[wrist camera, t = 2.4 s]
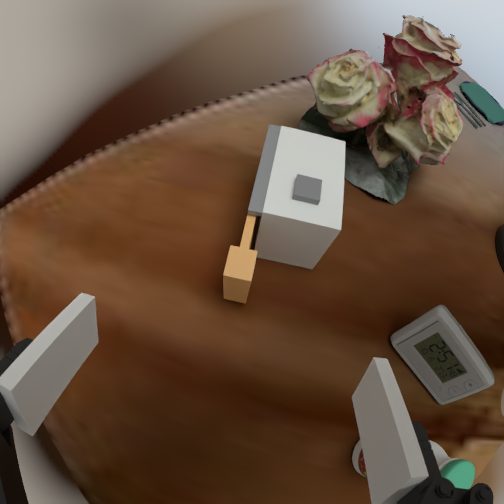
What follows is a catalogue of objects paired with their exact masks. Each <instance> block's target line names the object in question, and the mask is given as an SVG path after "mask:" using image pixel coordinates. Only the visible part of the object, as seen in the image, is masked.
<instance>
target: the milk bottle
mask: <svg viewBox="0 0 504 504" xmlns="http://www.w3.org/2000/svg"><path fill="white" fill-rule="evenodd" d="M429 442H430V444H431V446H432V448H431V449H433V452H434V455H435V458H436V461H437V464H438V467H439V470H440V473H441V476H442V478H446V479H449V480H450V481H451V482H452V483H453V484H454V486H455V487H456V488H463V489H470V487H471V485H472V483H473V480H474V476H475V468H474V465H473V464H472V463H471V462H469V461H467V460H462V459H457V458H452V459H450V458H449V457H448V456H447V454H446V452H445V451H444V450H443V448H441V447H440V446H439V445H438V444H436V443H435V442H433V441H431V440H429ZM352 462H353V466H354V468H355V470H356V471H357V472H358V473H360V474H361V475H362V476H364V477H366V478H367V472H366V466H365V461H364V455H363V450H362V445H361V440H359V441H358V442H357V444H356V446H355V448H354V450H353V455H352ZM367 479H368V478H367Z"/></svg>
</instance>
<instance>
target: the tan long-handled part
mask: <svg viewBox="0 0 504 504" xmlns="http://www.w3.org/2000/svg"><path fill="white" fill-rule="evenodd" d="M257 217H258V216H257V215H252V214H248V215H247V219H246V223H245V227H244V231H243V235H242V240H241V244H240V247H237V246H232V245H231V246H230V250H229V254H228V258H227V262H226V266H225V270H224V274H223V290H224V299H227V300H232V301H236V302H241V303H245V304H246V300H247V296H248V292H249V289H250V285H251V281H252V276H253V271H254V267H255V262H256V257H257V253H258V251H255V250H250V248H251V243H252V239H253V234H254V230H255V226H256V221H257Z"/></svg>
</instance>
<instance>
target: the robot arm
mask: <svg viewBox="0 0 504 504" xmlns="http://www.w3.org/2000/svg"><path fill="white" fill-rule="evenodd" d="M496 250H497V255H498V259H499V261H500V264H501V266H502V269H503V271H504V224H503V225H502V226H501V227H500V228H499V229H498V231H497V234H496ZM98 342H99V341H98V331H97V319H96V305H95V297H94V296H91V295H88V294H84V293H81V294H80V295H79V296H78V297H77V298H76V299H75V300H73V301H72V302H71V303H70V304H69V305H68V306H67V307H66V308H65V309H64V310H63V311H62V312H61V313H60V314H59V315H58V316H57V317H56V318H55V319H54V320H53V321H52V322H51V323H50V324H49V325H48V326H47V327H46V328H45V329H44V330H43V331H42V332H41V333H40V334H39V335H38V336H37V337H36V338H35V340H34V341H33V340H31V339H29V338H26V339H24V340H22V341H20V342H18V343H17V344H16V345H15V346H14V347H13V348H12V349H11V351H10V352H8V353H7V354H6V355H5V357H3V359H2V360H1V361H0V504H28V500H27V496H26V493H25V489H24V486H23V482H22V477H21V473H20V469H19V464H18V459H17V454H16V449H15V444H14V438H13V431H12V427H11V425H10V424H11V423H12V422H13V420H15V422H16V424H17V426H18V428H20V429H21V430H23V431H25V432H26V433H28V434H30V435H31V436H33V435H34V434H35V432H36V431H37V429H38V428H39V426H40V425H41V423H42V422H43V420H44V419H45V417H46V416H47V414H48V413H49V411H50V410H51V408H52V407H53V405H54V404H55V402H56V401H57V399H58V398H59V396H60V395H61V394H62V392H63V391H64V389H65V388H66V386H67V385H68V384H69V382H70V381H71V379H72V378H73V377H74V375H75V374H76V372H77V371H78V370H79V368H80V367H81V365H82V364H83V363H84V361H85V360H86V358H87V357H88V356H89V354H90V353H91V352H92V350H93V349H94V348H95V346H96V345H97V344H98ZM352 401H353V406H354V410H355V415H356V420H357V425H358V430H359V435H360V440H361V445H362V450H363V455H364V461H365V466H366V472H367V478H368V484H369V490H370V496H371V502H372V504H395V503H398V504H493V492H492V490H491V488H490V487H489V486H488V485H486V484H484V483H478V484H476V485H474V486H473V487H472V488H471V489H463V488H456V487H455V486H454V484H453V483H452V482H451V481H450V480H449V479H446V478H442V476H441V473H440V470H439V467H438V464H437V461H436V458H435V455H434V452H433V449H431V448H432V446H431V444H430V442H429V438H428V435H427V433H426V430H425V429H424V428H423V426H422V425H421V424H420V423H419V422H411V420H410V417H409V414H408V411H407V408H406V406H405V403H404V400H403V398H402V395H401V392H400V390H399V387H398V384H397V382H396V379H395V377H394V374H393V372H392V369H391V366H390V364H389V362H388V359H385V358H376V357H373V359H372V361H371V363H370V365H369V367H368V369H367V370H366V372H365V374H364V376H363V378H362V380H361V381H360V383H359V385H358V387H357V388H356V390H355V392H354V394H353V395H352Z"/></svg>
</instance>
